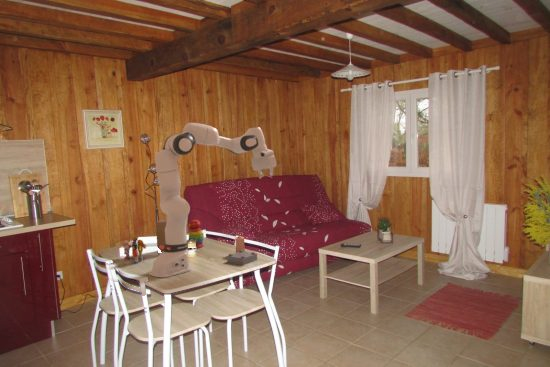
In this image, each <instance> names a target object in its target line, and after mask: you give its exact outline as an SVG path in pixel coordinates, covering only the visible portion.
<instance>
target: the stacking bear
mask: <svg viewBox="0 0 550 367" xmlns="http://www.w3.org/2000/svg"><path fill="white" fill-rule="evenodd" d="M188 228H190V229H189V232H188V240H191V239H193V240H196V247H197V249H200V248H203V247H204V242H203V241H204V233H203V229H201V221H200V220H199V219H193V220H191V221H190V223H189V224H188Z"/></svg>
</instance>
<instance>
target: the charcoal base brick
mask: <svg viewBox="0 0 550 367" xmlns="http://www.w3.org/2000/svg"><path fill="white" fill-rule="evenodd" d="M257 260H258V253H256V252H255V251H252V252H249V251H246V250H245V251H243V250H239V252H236V251H235V252H232V253H228V255H226V263H231V264H236V265H240V266H241V265H242V266H245V264H246V265H248V264H250V263H253V262H255V261H257Z"/></svg>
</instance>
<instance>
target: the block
mask: <svg viewBox="0 0 550 367" xmlns="http://www.w3.org/2000/svg"><path fill="white" fill-rule="evenodd" d="M166 223H167V218H162V219H160V220H157V221H156V222H155V228H156V229H155V231H156V247H158V248H159V246H160V245H162V246H164V245H165V243H166V242H165V227H166ZM159 249H160V248H159ZM160 250H161V252H163V249H160Z"/></svg>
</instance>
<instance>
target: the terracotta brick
mask: <svg viewBox="0 0 550 367" xmlns="http://www.w3.org/2000/svg"><path fill="white" fill-rule="evenodd" d="M234 241H235V242H234V244H235V253H236V252H239V250H243V251H245V252H246V250H245V237H244V236H241V235H238V236H235V237H234Z"/></svg>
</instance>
